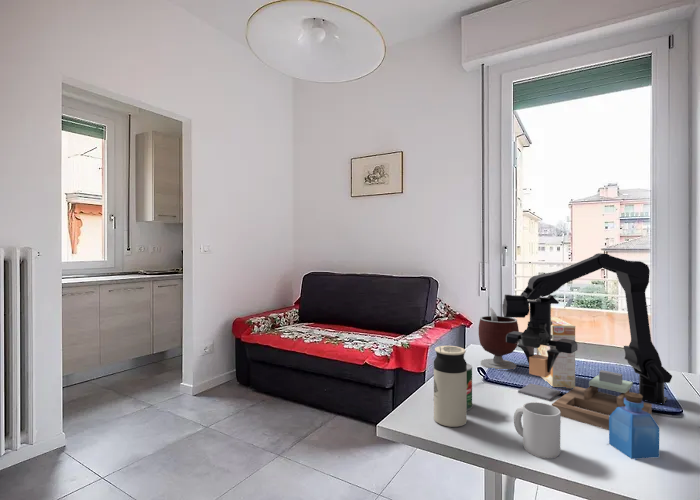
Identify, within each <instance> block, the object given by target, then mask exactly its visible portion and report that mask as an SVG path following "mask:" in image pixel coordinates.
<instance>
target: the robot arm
mask: <svg viewBox="0 0 700 500" xmlns="http://www.w3.org/2000/svg"><path fill="white" fill-rule="evenodd" d="M649 267H650V266H648V264H646V263H644V262H643V261H640V260H639V261H638V260H627V259H623V258H619V257H616V256H613V255H610V254H608V253H601V252H600V253H595V254H594V255H593V256H591V257H587V258H585V259H583V260H581V261H578V262H576V263H574V264H571V265H568V266H566V267H564V268H561V269H559V270H556V271H552V272H546V273H542V274H538V275H536V274H535V275H534V276H532V277H530V278H529V279H528V282H527V286H526V288H524V290H523V291H522V292H521V293H520V295H519V294H518V295H515V294H514V295H513V294H512V295H511V294H504V298H503V301H502V306H501V307H502V316H504V317H511V318H515V319H518V318H523V319H525V318H526V316H528V315H529V321H527V326H526V329H524V331H523V332H522V331H519V332H517V331H513V332H510V333H508V334H507V335H506V342H507V343H513V344H516V343H517V342H518V344H517V347H518V348H520V349H521V350H522V351H523V353H524V355H525V357H526V360H527V363H528V364H529V357H531V356H533V355H535V349H537V348H539V347H540V345H545V346H550V350H547V354H548V361H547V372H550V371H551V368H552V366H553V364H554V362H555V360H556V358H557V356H558V354H559V353H561V352H563V353H573V352H575V353H576V352H577V351H578V343H577V341H576V339H575V340H569V339H560V340H558V341H554V340H551V339H552V335H551V325H552V321H551V317H552V305H554V304H555V305H558V304H560V302H559V300H557V299H556V298H555V297H554V295H552V294H553V293H555V292H556V291H558V290H559V289H560V288H562V287H563V286H564V285H565V284H567V283H569V282H572V281H575V280H578V279H580V278H582V277H585V276H587V275H589V274H591V273H594V272H596V271H599V270H601V269H605V270H607V271H609V272H612V273H615V274H616V276H617V280H618V282H619V284H620V286H621V288H622V290H623V291H624V295H625V302H626V310H627V316H628V318H627V319H628V324H629V325H628V326H629V332H630V343H629V345H623V350H624V353H625V355H624V360H626V361H627V364H628V365H629V366H630V367H632V369H633V370H634V373H635V374H638V375H639V376H638V380H639V383H638V385H639V386H638V388H639V389H638V393H637V394H640V395H642V396H643V398H642V401H644V400H646V402H649V401H651V402H650V403H653V402H657V403H662V404H664V403H665V404H666V402H667V401H668V399H667V398H668V397H667V396H665V383H666V384H670V383H671V381H672V379H673V375H672V374H671V373H670V372H669V371H668V370H666V368H665V367H664V366H663V364H662V361H661V360H662V359H661V358H660V355H659V352H658V350H657V348H656V347H655V345H654V344H653V342H652V337H651V336H652V335H651V327H650V319H649V311H648V304H647V297H646V296H647V295H646V291H647V288H648V286H649V283H650V272H651V271H650V268H649ZM666 400H667V401H666ZM665 401H666V402H665ZM657 403H656V404H657ZM662 404H661V405H662ZM665 404H664V405H665Z"/></svg>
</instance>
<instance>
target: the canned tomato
mask: <svg viewBox="0 0 700 500" xmlns="http://www.w3.org/2000/svg"><path fill="white" fill-rule="evenodd" d="M472 408H473V366H472V364H469V363H467V411H469V410H471V409H472Z"/></svg>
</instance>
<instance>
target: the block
mask: <svg viewBox="0 0 700 500" xmlns="http://www.w3.org/2000/svg"><path fill="white" fill-rule="evenodd" d="M547 361H548V357H547V356H542V355H537V353H536V354H535V353H534V355H533V356H531V357H529V363H528V370H529V372H528V374H529V375H533V376H537V377H541V378H542V377H546V376H548V375H550V374H551V371H550V372H547Z"/></svg>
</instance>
